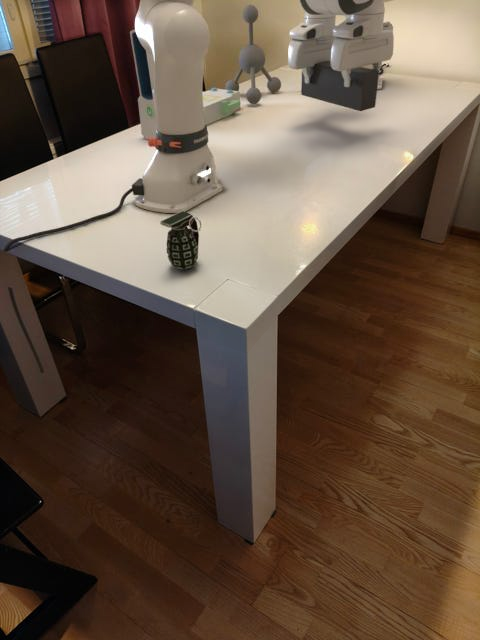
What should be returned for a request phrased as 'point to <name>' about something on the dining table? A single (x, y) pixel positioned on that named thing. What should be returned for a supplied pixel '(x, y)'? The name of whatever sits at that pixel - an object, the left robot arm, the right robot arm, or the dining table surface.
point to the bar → (342, 86)
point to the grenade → (182, 240)
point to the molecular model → (252, 62)
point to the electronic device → (145, 87)
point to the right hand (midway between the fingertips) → (317, 80)
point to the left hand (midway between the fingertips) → (360, 83)
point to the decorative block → (219, 104)
